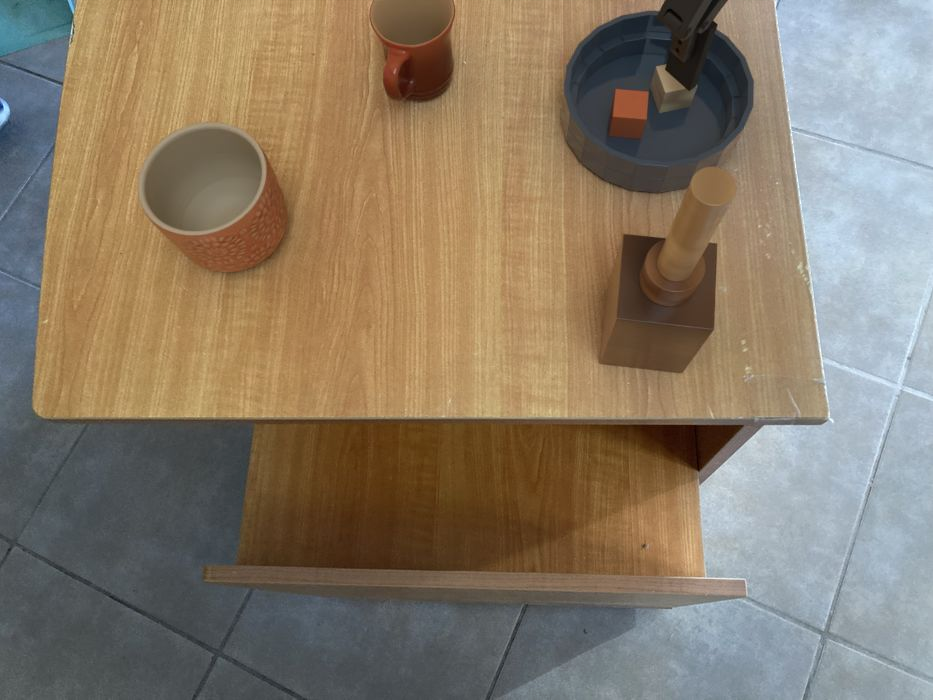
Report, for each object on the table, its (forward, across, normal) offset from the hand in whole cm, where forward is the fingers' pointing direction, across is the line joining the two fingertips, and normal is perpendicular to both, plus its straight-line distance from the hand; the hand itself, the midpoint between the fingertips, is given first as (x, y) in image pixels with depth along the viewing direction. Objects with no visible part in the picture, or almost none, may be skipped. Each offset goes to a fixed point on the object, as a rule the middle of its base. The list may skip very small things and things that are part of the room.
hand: (743, 32), depth 61 cm
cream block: (+21, -6, -8) cm, 23 cm away
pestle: (+10, +15, +10) cm, 20 cm away
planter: (+22, +40, -26) cm, 52 cm away
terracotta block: (+21, 0, -9) cm, 23 cm away
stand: (+22, +15, +10) cm, 28 cm away
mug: (+22, +15, -28) cm, 38 cm away
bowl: (+22, -2, -8) cm, 23 cm away
